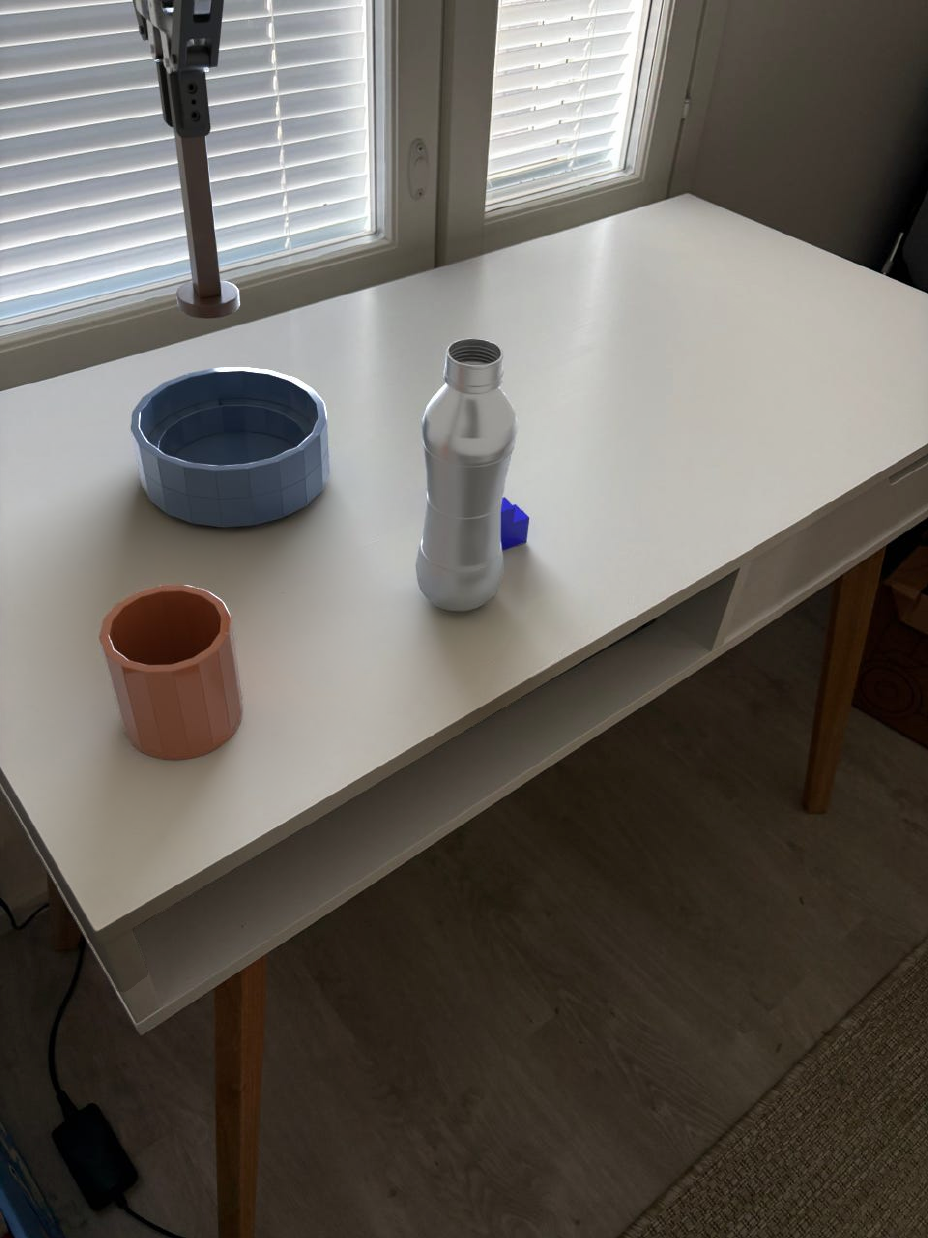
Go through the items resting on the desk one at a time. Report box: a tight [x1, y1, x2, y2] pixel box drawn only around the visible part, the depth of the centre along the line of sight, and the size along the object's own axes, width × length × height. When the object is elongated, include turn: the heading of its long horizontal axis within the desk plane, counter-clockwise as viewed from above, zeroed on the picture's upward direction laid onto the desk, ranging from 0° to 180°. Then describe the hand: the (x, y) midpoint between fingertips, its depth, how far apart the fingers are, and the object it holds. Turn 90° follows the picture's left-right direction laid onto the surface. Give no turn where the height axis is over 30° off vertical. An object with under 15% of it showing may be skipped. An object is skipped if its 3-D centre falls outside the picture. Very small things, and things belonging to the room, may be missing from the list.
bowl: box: [130, 366, 330, 528], centre depth 84 cm, size 15×15×6 cm
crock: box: [98, 584, 244, 761], centre depth 63 cm, size 8×8×8 cm
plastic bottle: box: [415, 337, 519, 612], centre depth 69 cm, size 6×7×20 cm
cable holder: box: [501, 496, 530, 552], centre depth 82 cm, size 8×4×4 cm, turn 31°
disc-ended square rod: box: [166, 40, 241, 320], centre depth 67 cm, size 4×4×17 cm
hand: (187, 128), depth 65 cm, fingers closed on disc-ended square rod
